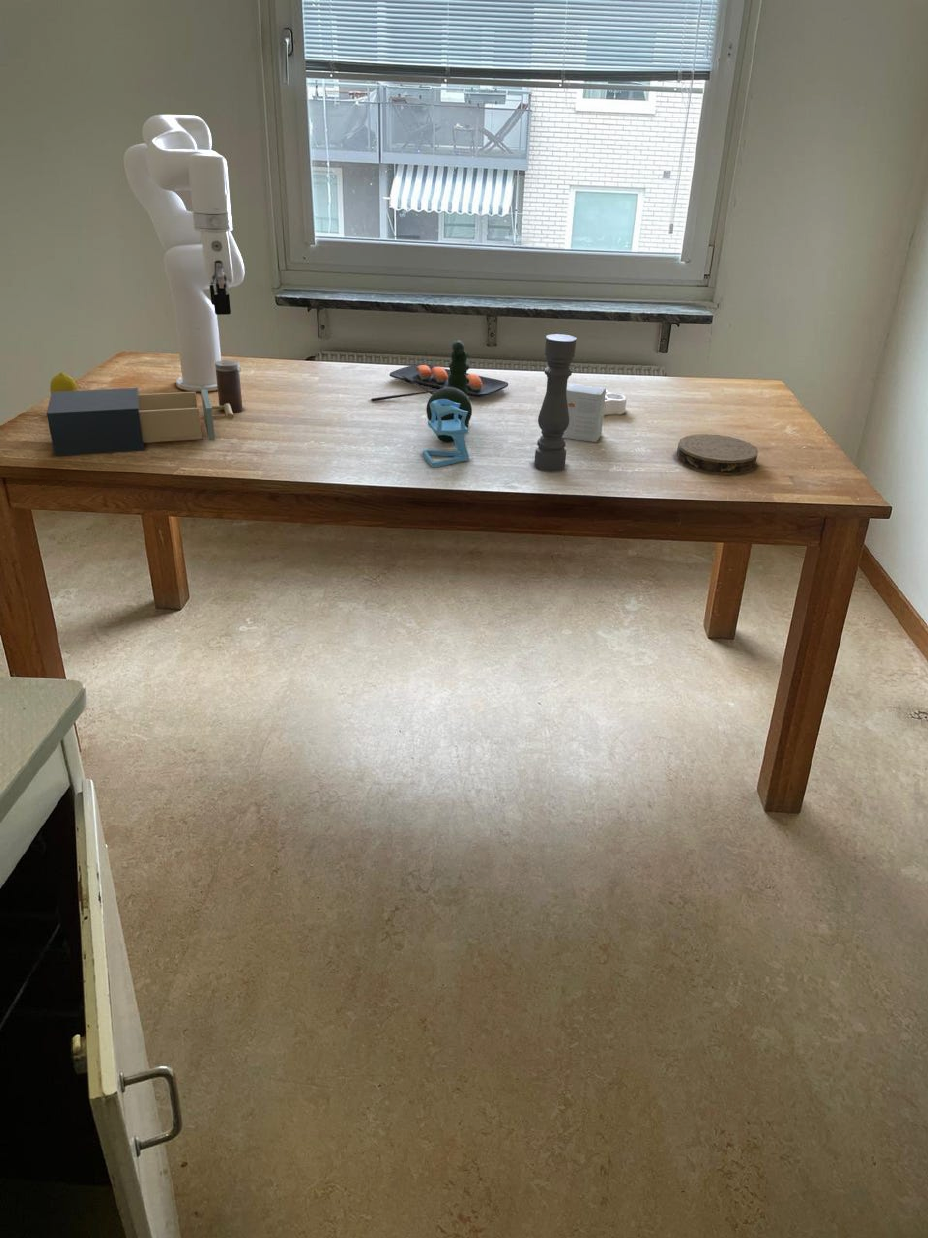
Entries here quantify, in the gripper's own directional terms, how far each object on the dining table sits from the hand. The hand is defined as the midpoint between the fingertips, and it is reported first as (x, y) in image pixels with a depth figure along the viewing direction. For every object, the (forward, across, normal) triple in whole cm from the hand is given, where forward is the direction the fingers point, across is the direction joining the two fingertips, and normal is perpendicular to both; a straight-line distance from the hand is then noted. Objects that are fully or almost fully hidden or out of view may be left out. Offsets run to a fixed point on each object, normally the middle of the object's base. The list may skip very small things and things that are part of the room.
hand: (221, 309), depth 190 cm
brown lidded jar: (+22, 0, 0) cm, 22 cm away
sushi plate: (+22, +4, -48) cm, 53 cm away
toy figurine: (+22, -25, -44) cm, 55 cm away
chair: (+22, -41, -39) cm, 60 cm away
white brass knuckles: (+22, -14, -81) cm, 85 cm away
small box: (+22, -33, -72) cm, 82 cm away
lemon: (+22, +7, +34) cm, 41 cm away
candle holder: (+22, -49, -58) cm, 78 cm away
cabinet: (+22, -16, +27) cm, 38 cm away
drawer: (+21, -16, +11) cm, 28 cm away
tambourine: (+21, -53, -93) cm, 109 cm away
